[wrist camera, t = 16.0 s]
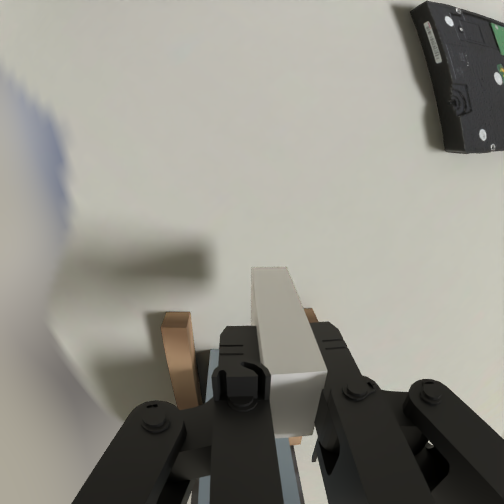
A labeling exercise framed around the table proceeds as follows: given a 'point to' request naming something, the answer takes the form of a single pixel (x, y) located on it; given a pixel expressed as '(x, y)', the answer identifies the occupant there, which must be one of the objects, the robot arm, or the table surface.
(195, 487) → the book slot
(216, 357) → the book
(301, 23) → the table surface
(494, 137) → the disk drive
